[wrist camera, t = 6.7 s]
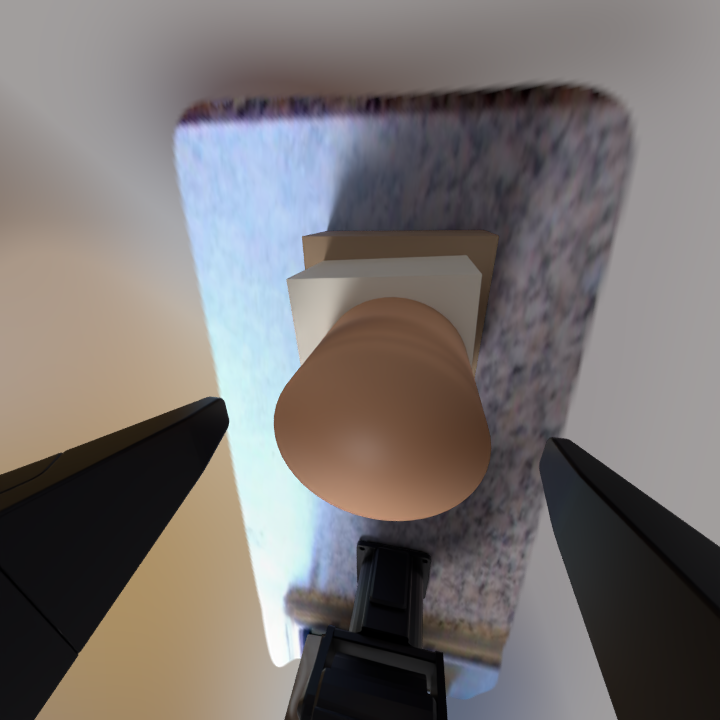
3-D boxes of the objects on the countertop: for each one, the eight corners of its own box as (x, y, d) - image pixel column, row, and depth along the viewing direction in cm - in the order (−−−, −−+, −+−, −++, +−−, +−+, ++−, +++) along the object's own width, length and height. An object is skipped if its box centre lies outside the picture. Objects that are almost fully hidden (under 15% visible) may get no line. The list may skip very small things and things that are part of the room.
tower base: (461, 370, 19) (469, 408, 15) (336, 361, 20) (317, 393, 17) (482, 229, 15) (499, 235, 12) (328, 230, 17) (301, 236, 13)
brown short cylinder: (458, 432, 11) (473, 534, 8) (328, 419, 12) (288, 505, 9) (478, 298, 9) (511, 356, 5) (317, 295, 10) (257, 342, 6)
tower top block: (455, 384, 15) (464, 439, 11) (336, 378, 16) (311, 426, 12) (466, 255, 12) (481, 274, 9) (323, 260, 13) (286, 279, 10)
